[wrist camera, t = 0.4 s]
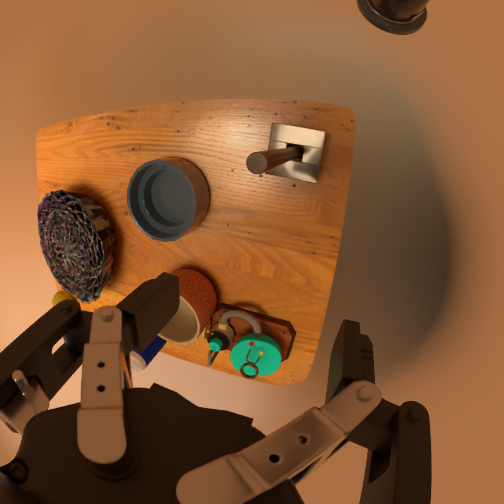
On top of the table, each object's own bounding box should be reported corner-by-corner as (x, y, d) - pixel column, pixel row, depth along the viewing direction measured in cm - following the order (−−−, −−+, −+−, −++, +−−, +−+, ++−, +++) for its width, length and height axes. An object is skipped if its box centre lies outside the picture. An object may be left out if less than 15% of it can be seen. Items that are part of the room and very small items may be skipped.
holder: (279, 125, 42) (271, 122, 36) (326, 133, 40) (325, 131, 35) (273, 169, 45) (264, 173, 39) (318, 178, 43) (316, 183, 38)
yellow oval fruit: (80, 308, 74) (59, 325, 65) (68, 306, 76) (47, 321, 68) (72, 287, 72) (49, 303, 63) (60, 286, 74) (38, 301, 65)
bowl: (147, 154, 50) (128, 157, 44) (214, 161, 47) (199, 164, 42) (145, 223, 56) (127, 232, 50) (207, 237, 53) (193, 249, 47)
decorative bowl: (132, 189, 56) (100, 196, 46) (131, 302, 65) (106, 321, 56) (62, 179, 61) (33, 184, 51) (66, 274, 70) (42, 287, 61)
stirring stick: (295, 145, 42) (247, 150, 19) (305, 147, 42) (269, 153, 19) (293, 155, 43) (244, 172, 20) (303, 157, 43) (266, 176, 20)
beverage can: (157, 325, 66) (122, 363, 52) (160, 310, 63) (123, 348, 50) (174, 335, 65) (142, 376, 52) (179, 321, 63) (144, 362, 50)
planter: (233, 284, 55) (211, 315, 45) (209, 324, 61) (187, 355, 51) (180, 250, 55) (149, 273, 46) (162, 292, 61) (134, 319, 51)
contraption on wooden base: (213, 289, 57) (178, 334, 43) (301, 314, 53) (288, 369, 40) (209, 340, 63) (180, 386, 49) (286, 363, 59) (270, 417, 46)
